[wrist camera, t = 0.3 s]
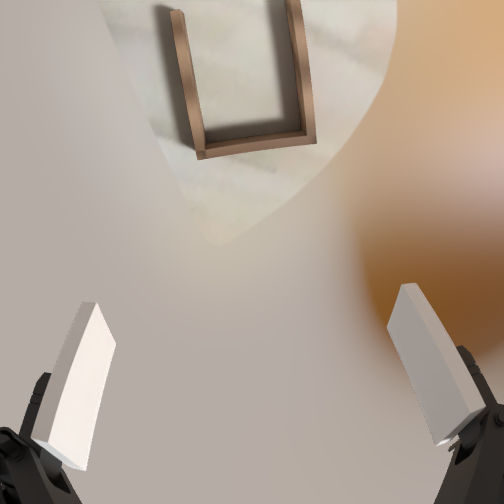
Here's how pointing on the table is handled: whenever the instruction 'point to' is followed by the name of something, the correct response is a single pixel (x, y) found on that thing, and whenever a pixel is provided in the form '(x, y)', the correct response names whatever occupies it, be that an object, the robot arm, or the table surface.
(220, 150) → the open wooden frame
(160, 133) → the table surface
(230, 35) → the table surface
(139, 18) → the table surface
